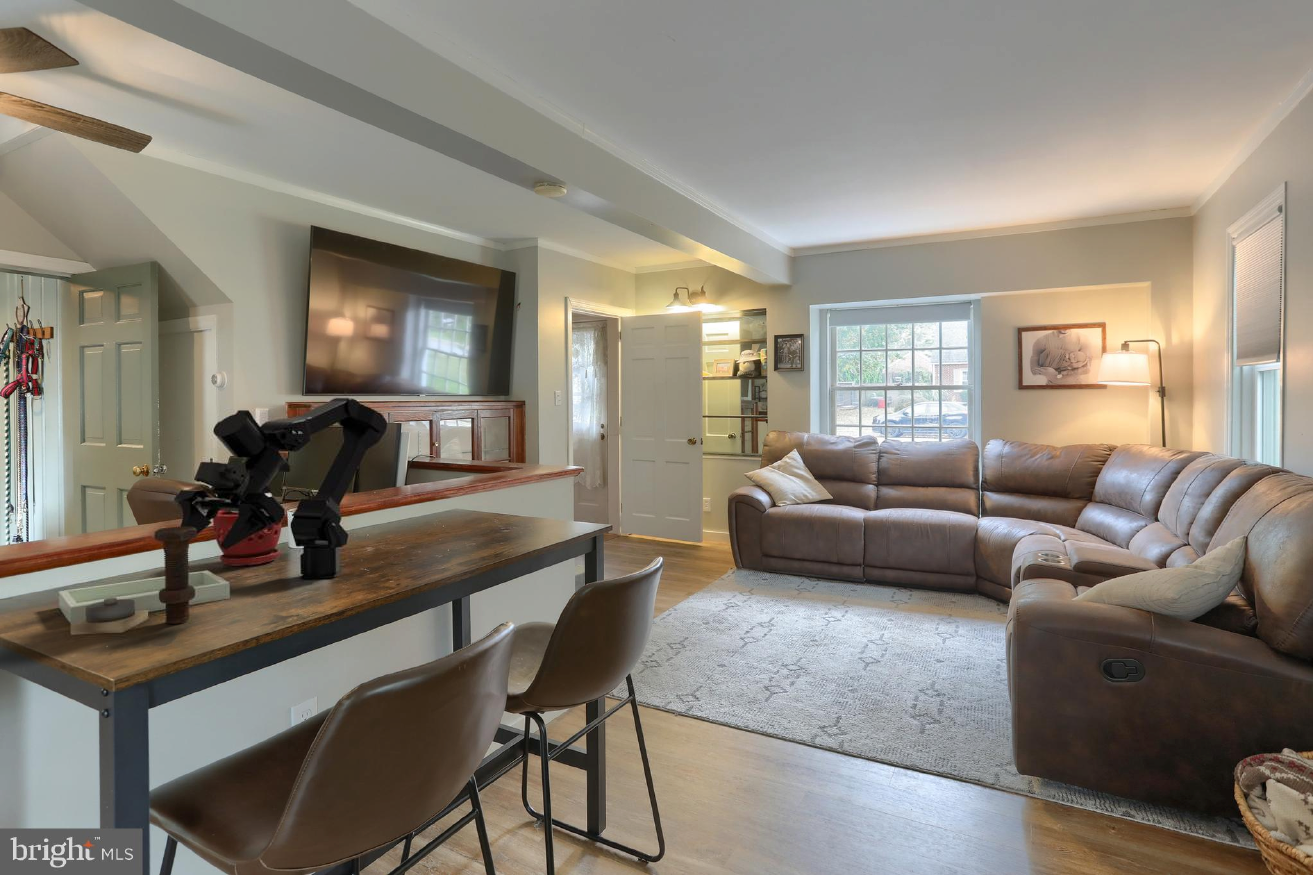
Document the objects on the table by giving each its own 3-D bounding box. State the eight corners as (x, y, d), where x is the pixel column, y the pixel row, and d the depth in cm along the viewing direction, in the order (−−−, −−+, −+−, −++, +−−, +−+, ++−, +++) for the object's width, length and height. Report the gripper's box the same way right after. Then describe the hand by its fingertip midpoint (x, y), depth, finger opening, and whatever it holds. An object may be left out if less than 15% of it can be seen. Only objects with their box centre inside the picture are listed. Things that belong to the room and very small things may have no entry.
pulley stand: (148, 618, 112) (147, 592, 112) (122, 632, 105) (122, 604, 105) (99, 620, 111) (99, 594, 111) (70, 634, 104) (70, 606, 104)
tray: (207, 584, 134) (207, 570, 134) (229, 598, 125) (229, 582, 125) (59, 607, 118) (58, 591, 118) (71, 625, 109) (70, 607, 109)
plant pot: (238, 555, 162) (237, 504, 161) (293, 556, 161) (292, 505, 161) (199, 568, 149) (198, 513, 148) (259, 569, 148) (258, 513, 148)
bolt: (174, 628, 107) (173, 532, 107) (147, 626, 108) (145, 531, 108) (206, 617, 113) (204, 526, 113) (180, 615, 114) (178, 525, 114)
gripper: (183, 443, 122) (121, 514, 111) (271, 445, 117) (215, 519, 107) (222, 484, 129) (167, 554, 119) (306, 487, 125) (257, 560, 114)
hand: (200, 546), depth 114 cm, fingers open, 9 cm apart
